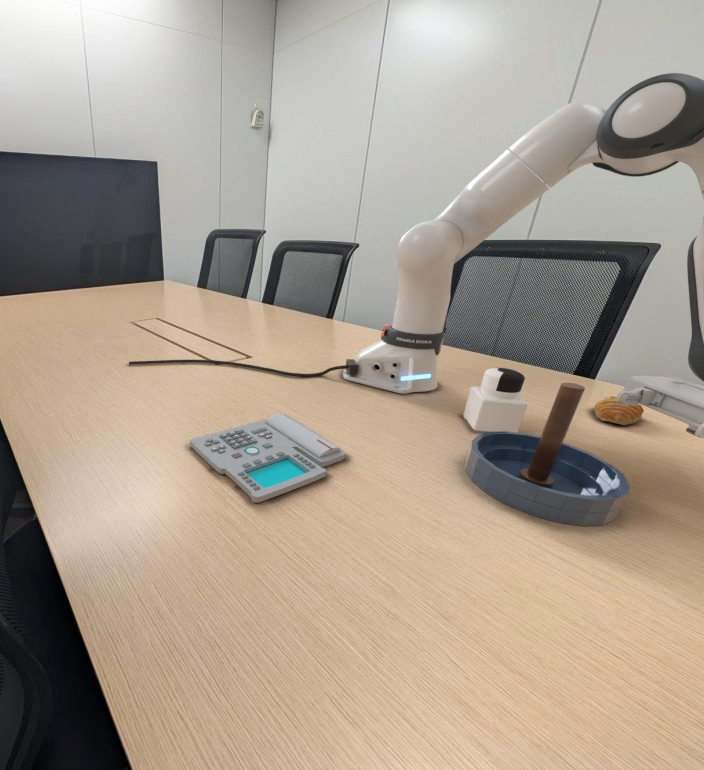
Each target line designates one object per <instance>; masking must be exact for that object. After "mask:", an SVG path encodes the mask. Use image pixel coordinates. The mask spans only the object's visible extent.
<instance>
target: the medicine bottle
mask: <svg viewBox="0 0 704 770" xmlns="http://www.w3.org/2000/svg"><path fill="white" fill-rule="evenodd" d="M525 379H526V377H525V375H524V374H523V373H521V372H519V371H517V370H514V369H511V368H507V367H492V368H488V369H485V370H484V373H483V377H482V379H481V383H480V386H474V385H473V386H471V387H470V390H469V393H468V396H467V399H466V403H465V407H464V411H463V414H462V417H463V419H464V420H466V421H467V422H468V424H469V425H470V427H471V428H472V430H474V431H481V432H498V431H508V432H518V433H519V431H520V428H521V425H522V423H523V419H524V416H525V413H526V411H527V408H528V403H527V402H526V401H525V400H524V399H523V398H521V397H520V394H521V392H522V388H523V385H524V383H525Z"/></svg>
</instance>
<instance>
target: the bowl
mask: <svg viewBox="0 0 704 770" xmlns="http://www.w3.org/2000/svg"><path fill="white" fill-rule="evenodd" d="M540 438H541V435H540V436H539V435H537V434H531V433H526V432H519V431H518V432H508V431H498V432H488V431H486V432H483V433H480V434H477V435H476V436H475V437H474V438H473V439H472V440H471V442H470V445H469V447H468V448H469V449H468V452H467V455H466V457H465V462H464V471H465V474H466V475H467V476H468V478H469V479H470V481H471V482H472V483H473V484H475V486H477V487H478V488H479V489H481V490H482V491H483V492H484V493H485V494H487V495H489V497H492V498H493V499H495V500H497V501H499V502H500V503H502V504H504V505H506V506H509V507H511V508H513V509H515V510H517V511H519V512H523V513H525V514H527V515H530V516H534V517H537V518H541V519H543V520H547V521H550V522H554V523H559V524H565V525H573V526H579V527H589V526H603V525H606V524H608V523H610V522H612V521H614V520H615V519H616V517H617V516H618V514H619V512H620V510H621V508H622V506H623V504H624V502H625V500H626V499H627V496H629V492H630V490H631V487H632V485H631V484H630V481H629V480H628V478H627V477H626V475H625V473H623V472H622V471H620V470H619V469H618V468H617V467H615V466H614V465H613V464H612V463H610V462H608V461H607V460H604V459H603V458H601V457H599V456H597V455H596V454H593V453H591V452H589V451H587V450H585V449H582V448H579V447H578V446H575V445H572V444H569V443H566V442H563V443H562V446H561V448H560V450H559V453H558V455H557V458H556V460H555V463H554V465H553V467H552V470H551V472H550V476H551V477H552V478H553V479H554V481H555V482H554V484H553V487H552V489H549V488H545V487H541V486H538V485H536V484H533V483H530V482H528V481H525V480H523V479H520V478H518V476H519V473H520V470H521V469H524V468H529V466H530V464H531V461H532V458H533V456H534V453H535V451H536V448H537V445H538V443H539V440H540Z"/></svg>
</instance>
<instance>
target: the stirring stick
mask: <svg viewBox="0 0 704 770" xmlns="http://www.w3.org/2000/svg"><path fill="white" fill-rule="evenodd" d="M585 390H586V387H585V386H584V385H582V384H578V383H574V382H562V383H560V386H559V388H558V391H557V393H556V396H555V399H554V402H553V403H552V406H551V409H550V411H549V414H548V417H547V419H546V421H545V424H544V427H543V429H542V433H541V435H540V436H541V438H540V440H539V443H538V445H537V448H536V451H535V453H534V456H533V458H532V461H531V464H530V466H529V468H524V469H521V470H520V473H519V476H518V478H520V479H523V480H525V481H528V482H530V483H533V484H536V485H538V486H541V487H545V488H549V489H552V487H553V484H554V482H555V481H554V479H553V478H552V477H551V476H550V472H551V470H552V467H553V465H554V463H555V460H556V458H557V455H558V453H559V450H560V448H561V446H562V443H564V440H565V439H566V436H567V434H568V431H569V428H570V426H571V424H572V422H573V419H574V416H575V415H576V412H577V409H578V407H579V404H580V402H581V400H582V397H583V394H584V392H585Z"/></svg>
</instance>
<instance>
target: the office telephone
mask: <svg viewBox="0 0 704 770" xmlns="http://www.w3.org/2000/svg"><path fill="white" fill-rule="evenodd" d="M189 446H190V447H191V448H192V449H193V450H194V451H195V453H197V454H198V455H199V456H200V457H201V458H202V459H203V460H204V461H205V462H206V463H208V465H209V466H211V468H212V469H214V470H215V471H216V472H217V473H218V474H221V475H226V476H227V477H228V478H229V479H230V480H232V481H233V483H235V484H236V485H237V486H238V487H239V488H240V489H241V490H242V491H243V492H245V494H247V496H248V497H249V498H250V499H251V502H253V503H255V504H258V503H263V502H265V501H267V500H270V499H272V498H275V497H277V496H280V495H283V494H286V493H288V492H291V491H293V490H296V489H298V488H301V487H303V486H307V485H309V484H312V483H314V482H317V481H319V480H321V479H323V478H325V477H326V475H327V474H326V473H327V470H326V468H325V467H328V466H331V465H333V464H337V463H338V462H341V461H343V460H345V458H346V452H345V450H344V449H341V448H340V447H339V446H337V445H336V444H334V443H332V442H331V441H330V440H328V439H327V438H324V437H323V436H322V435H320V434H319V433H317V432H315V431H313V430H312V429H310V428H309V427H308V426H305V425H304V424H303V423H301V422H299V421H298V420H296V419H294V418H293V417H290V416H289V415H288V414H287V413H283V414H282V413H274V414H271V415H269V416H267V418H264V419H260V420H256V421H253V422H249V423H246V424H243V425H242V424H241V425H239V426H235V427H231V428H228V429H225V430H220V431H217V432H214V433H210V434H205V435H201V436H198V437H194V438H190V439H189Z"/></svg>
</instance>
